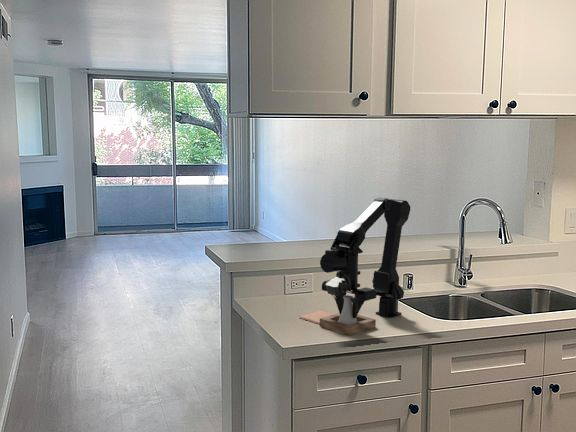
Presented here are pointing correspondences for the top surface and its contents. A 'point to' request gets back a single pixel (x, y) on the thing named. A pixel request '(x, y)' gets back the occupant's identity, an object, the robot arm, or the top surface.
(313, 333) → the top surface
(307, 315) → the terracotta coaster
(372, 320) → the walnut holder
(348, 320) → the flask
